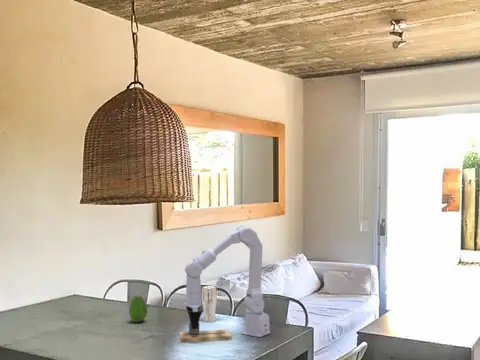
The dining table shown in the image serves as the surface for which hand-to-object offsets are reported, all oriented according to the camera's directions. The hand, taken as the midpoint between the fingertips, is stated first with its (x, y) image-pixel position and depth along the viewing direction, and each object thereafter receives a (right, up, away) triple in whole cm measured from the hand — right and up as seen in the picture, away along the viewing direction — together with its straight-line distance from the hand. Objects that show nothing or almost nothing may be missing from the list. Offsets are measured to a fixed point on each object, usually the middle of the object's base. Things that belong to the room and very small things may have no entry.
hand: (194, 326), depth 218 cm
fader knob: (0, -3, 0) cm, 3 cm away
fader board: (+4, -5, +1) cm, 7 cm away
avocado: (-28, -6, +28) cm, 40 cm away
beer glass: (+4, -6, +30) cm, 31 cm away
